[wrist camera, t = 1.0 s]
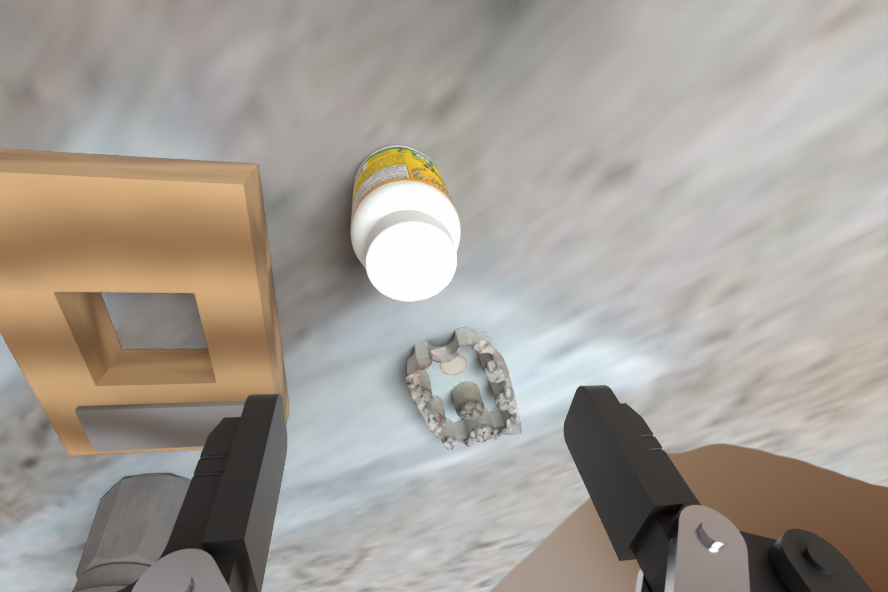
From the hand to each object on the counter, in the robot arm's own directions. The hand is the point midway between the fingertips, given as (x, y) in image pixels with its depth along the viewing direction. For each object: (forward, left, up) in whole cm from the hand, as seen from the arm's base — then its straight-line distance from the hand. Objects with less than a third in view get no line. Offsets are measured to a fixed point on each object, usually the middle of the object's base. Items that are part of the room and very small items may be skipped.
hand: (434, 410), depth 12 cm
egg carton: (+16, +6, -18) cm, 25 cm away
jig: (+9, -15, -18) cm, 25 cm away
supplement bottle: (0, 0, -18) cm, 18 cm away
